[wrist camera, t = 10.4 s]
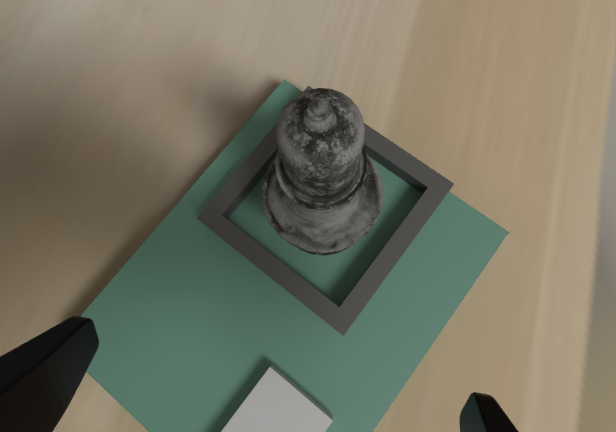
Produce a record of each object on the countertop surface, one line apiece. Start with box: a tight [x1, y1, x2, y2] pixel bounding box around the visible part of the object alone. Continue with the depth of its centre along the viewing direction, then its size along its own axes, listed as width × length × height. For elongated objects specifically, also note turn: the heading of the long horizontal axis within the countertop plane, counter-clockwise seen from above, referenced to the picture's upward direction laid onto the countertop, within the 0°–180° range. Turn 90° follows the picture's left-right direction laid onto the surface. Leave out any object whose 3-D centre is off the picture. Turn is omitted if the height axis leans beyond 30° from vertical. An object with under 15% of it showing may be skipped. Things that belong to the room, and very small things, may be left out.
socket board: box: [81, 80, 509, 432], centre depth 21 cm, size 20×16×3 cm
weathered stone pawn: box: [262, 88, 384, 256], centre depth 16 cm, size 6×6×12 cm
